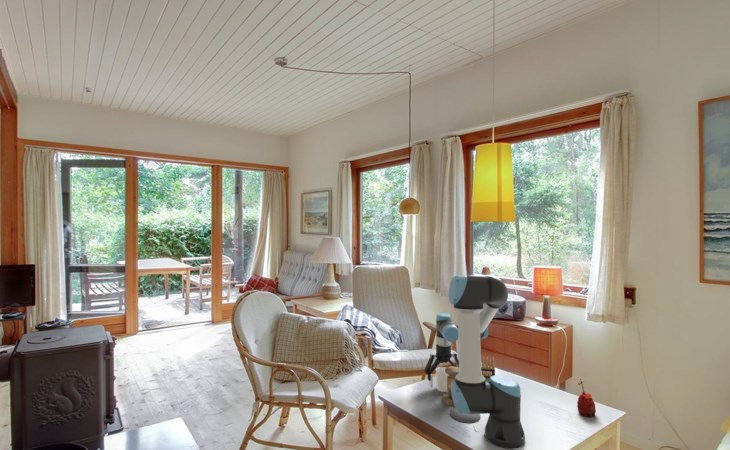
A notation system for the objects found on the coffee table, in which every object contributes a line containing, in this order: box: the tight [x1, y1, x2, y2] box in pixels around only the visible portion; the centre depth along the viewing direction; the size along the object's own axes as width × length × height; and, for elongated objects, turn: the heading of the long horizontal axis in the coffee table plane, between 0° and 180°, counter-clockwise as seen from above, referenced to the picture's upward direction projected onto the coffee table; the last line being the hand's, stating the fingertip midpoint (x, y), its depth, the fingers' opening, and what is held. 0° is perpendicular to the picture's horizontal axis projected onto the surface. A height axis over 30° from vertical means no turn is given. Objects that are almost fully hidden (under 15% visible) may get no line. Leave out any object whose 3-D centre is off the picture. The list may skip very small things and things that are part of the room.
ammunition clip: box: [481, 355, 496, 380], centre depth 209 cm, size 11×2×12 cm, turn 78°
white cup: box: [435, 366, 449, 393], centre depth 194 cm, size 8×8×10 cm
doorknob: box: [442, 365, 459, 407], centre depth 181 cm, size 10×10×15 cm
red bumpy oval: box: [576, 378, 597, 418], centre depth 170 cm, size 8×7×15 cm
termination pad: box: [449, 407, 481, 424], centre depth 169 cm, size 13×13×1 cm
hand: (443, 385), depth 194 cm, fingers open, 13 cm apart
